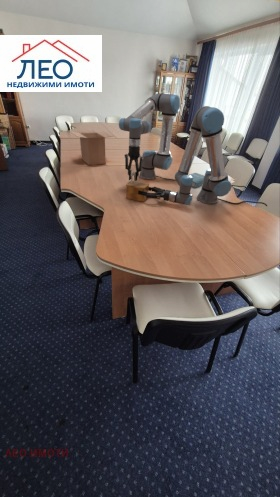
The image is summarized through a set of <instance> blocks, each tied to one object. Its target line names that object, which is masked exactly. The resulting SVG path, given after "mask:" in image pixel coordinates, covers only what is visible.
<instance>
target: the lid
mask: <svg viewBox="0 0 280 497" xmlns="http://www.w3.org/2000/svg"><path fill="white" fill-rule="evenodd" d="M135 172H136V171H133V172H131V180H129V182H128V183H126V184H125V187H127V186H129V187H134V188H139V189H145V188H146V187H147V186H148V185H149V186H150V184H149V183H145V182H139V181H135Z"/></svg>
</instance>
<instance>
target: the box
mask: <svg viewBox="0 0 280 497" xmlns="http://www.w3.org/2000/svg"><path fill="white" fill-rule="evenodd" d="M70 133H71V134H72V135H74V136H75V137H77V138H79V144H80V153H81V160H83V162H85V163H86V165H87V166H95V165H97V166H98V165H106V163H107V162H106V158H107V157H106V138H113V137H114V136H113V135H111V134H109V133H108V132H105V131H98V132H96V131H95V130H92V129H91V130H77V132H76V131H70Z"/></svg>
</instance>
